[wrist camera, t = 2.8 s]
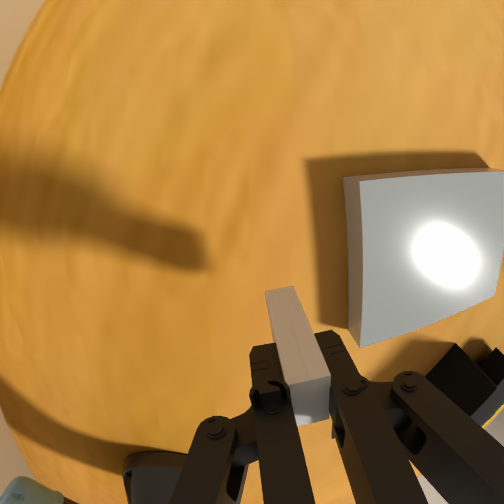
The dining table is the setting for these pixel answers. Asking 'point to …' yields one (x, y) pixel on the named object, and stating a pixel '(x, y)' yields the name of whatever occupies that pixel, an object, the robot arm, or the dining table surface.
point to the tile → (420, 247)
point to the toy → (471, 383)
